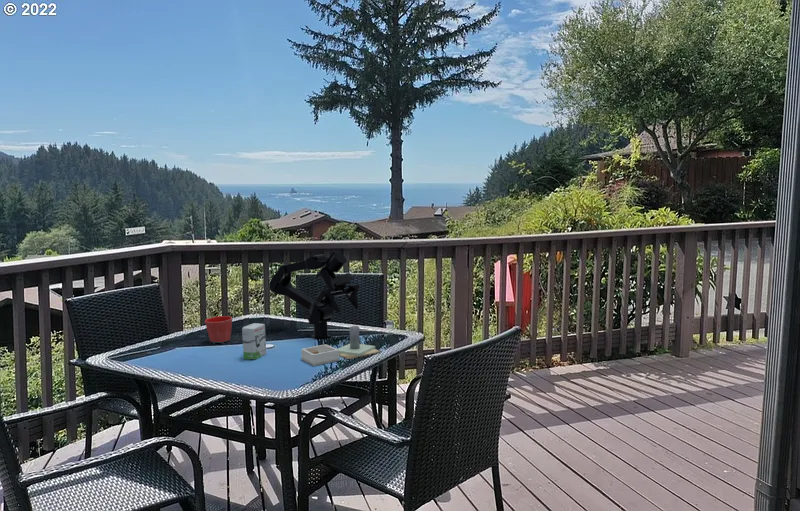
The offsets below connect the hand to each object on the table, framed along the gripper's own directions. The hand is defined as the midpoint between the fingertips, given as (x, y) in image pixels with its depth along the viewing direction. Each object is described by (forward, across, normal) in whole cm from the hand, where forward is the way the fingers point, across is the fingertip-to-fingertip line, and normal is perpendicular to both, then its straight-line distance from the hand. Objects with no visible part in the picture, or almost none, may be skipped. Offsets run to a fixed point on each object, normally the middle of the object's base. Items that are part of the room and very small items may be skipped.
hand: (348, 310), depth 232 cm
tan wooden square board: (+17, -6, +2) cm, 18 cm away
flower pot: (-21, -33, +41) cm, 57 cm away
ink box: (0, -34, +19) cm, 39 cm away
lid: (+17, -6, +2) cm, 18 cm away
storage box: (+16, -21, +3) cm, 27 cm away
